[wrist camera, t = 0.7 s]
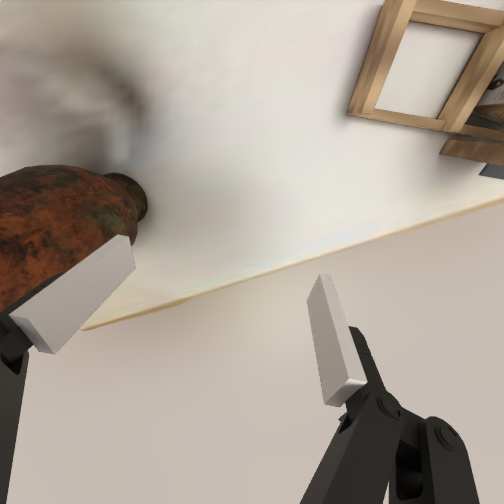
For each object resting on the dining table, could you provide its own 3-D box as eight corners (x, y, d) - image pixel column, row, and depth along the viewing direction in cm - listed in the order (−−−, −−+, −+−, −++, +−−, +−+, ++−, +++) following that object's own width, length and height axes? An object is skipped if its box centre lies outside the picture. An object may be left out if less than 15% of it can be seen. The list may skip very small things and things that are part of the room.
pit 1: (500, 146, 29) (502, 146, 29) (527, 151, 29) (529, 151, 29) (479, 174, 31) (480, 175, 31) (504, 179, 31) (506, 179, 31)
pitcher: (181, 213, 40) (20, 367, 15) (117, 256, 47) (-60, 405, 22) (112, 131, 33) (-411, 156, 8) (51, 197, 41) (-311, 316, 16)
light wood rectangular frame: (384, 1, 23) (415, -33, 18) (612, 41, 22) (708, 18, 17) (346, 114, 28) (361, 112, 23) (527, 146, 28) (581, 151, 23)
